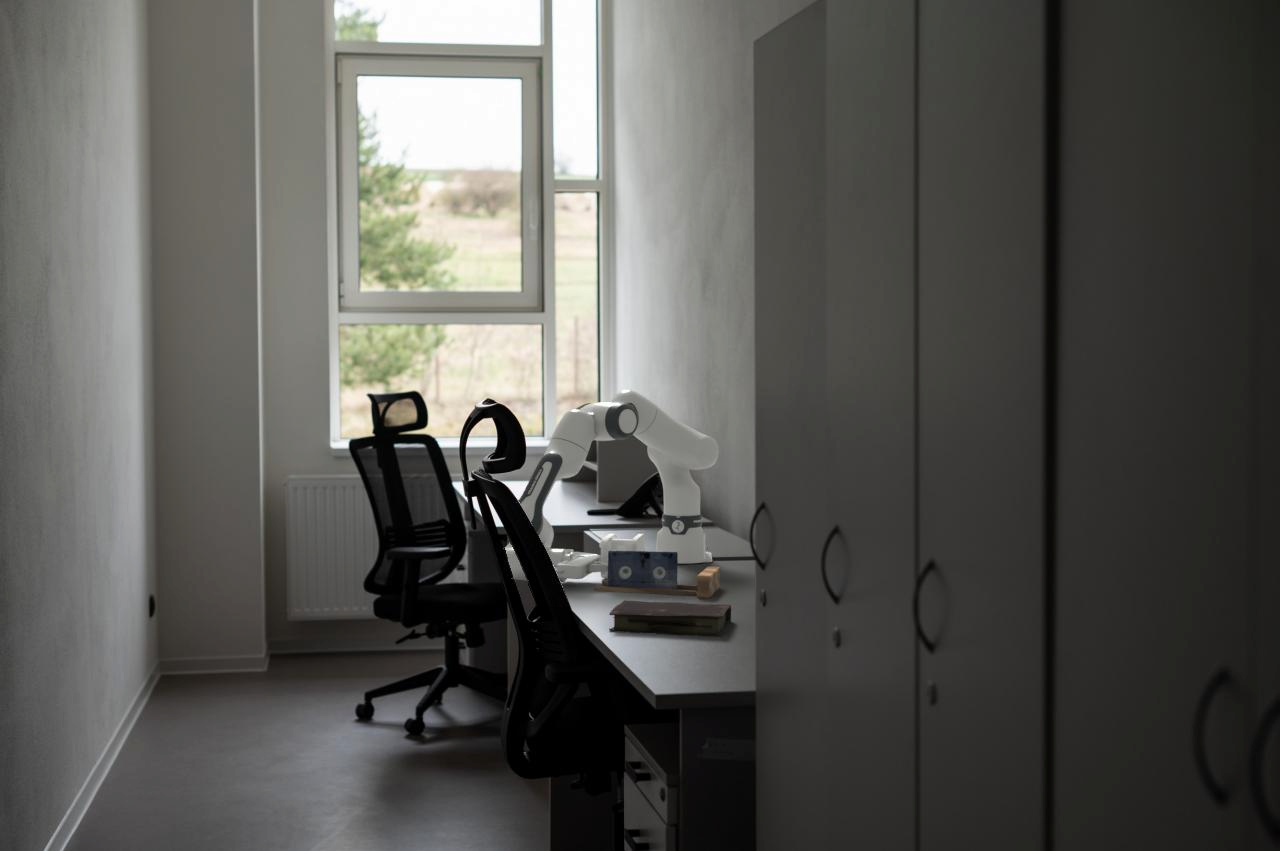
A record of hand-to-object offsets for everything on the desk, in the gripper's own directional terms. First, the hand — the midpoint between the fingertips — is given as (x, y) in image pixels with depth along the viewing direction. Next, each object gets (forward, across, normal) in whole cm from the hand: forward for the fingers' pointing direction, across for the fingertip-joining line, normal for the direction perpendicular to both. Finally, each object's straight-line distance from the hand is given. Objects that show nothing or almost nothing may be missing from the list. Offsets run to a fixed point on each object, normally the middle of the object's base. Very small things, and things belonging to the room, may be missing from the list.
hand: (609, 567), depth 334 cm
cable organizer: (-1, +18, +6) cm, 19 cm away
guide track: (+13, 0, +5) cm, 14 cm away
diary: (+26, -45, +6) cm, 53 cm away
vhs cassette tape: (+9, 0, +6) cm, 11 cm away
